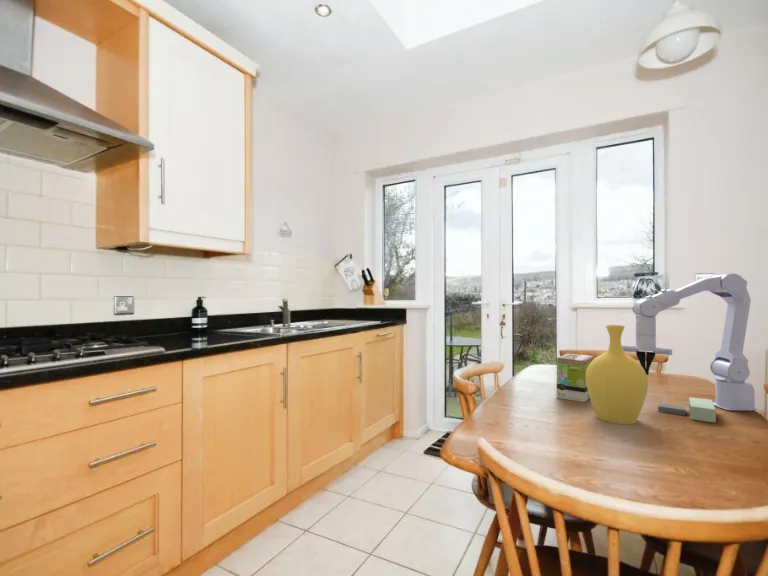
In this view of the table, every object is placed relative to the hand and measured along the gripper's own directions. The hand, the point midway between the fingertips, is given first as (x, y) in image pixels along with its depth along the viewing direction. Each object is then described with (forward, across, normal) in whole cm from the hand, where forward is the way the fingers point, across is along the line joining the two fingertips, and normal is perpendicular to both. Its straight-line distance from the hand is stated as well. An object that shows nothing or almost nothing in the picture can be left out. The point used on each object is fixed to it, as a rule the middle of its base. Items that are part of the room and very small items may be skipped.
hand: (645, 374), depth 134 cm
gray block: (+10, +7, -5) cm, 14 cm away
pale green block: (+10, +15, -5) cm, 18 cm away
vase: (+10, -6, -24) cm, 27 cm away
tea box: (+10, -22, -3) cm, 24 cm away
